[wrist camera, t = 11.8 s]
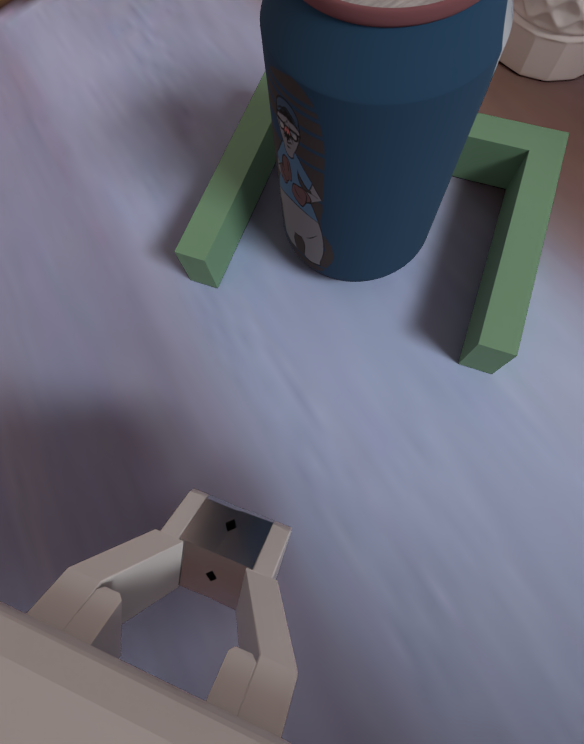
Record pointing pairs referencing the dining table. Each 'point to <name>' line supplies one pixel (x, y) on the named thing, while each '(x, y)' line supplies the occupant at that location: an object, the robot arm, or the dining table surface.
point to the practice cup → (476, 163)
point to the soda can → (373, 119)
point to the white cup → (546, 39)
